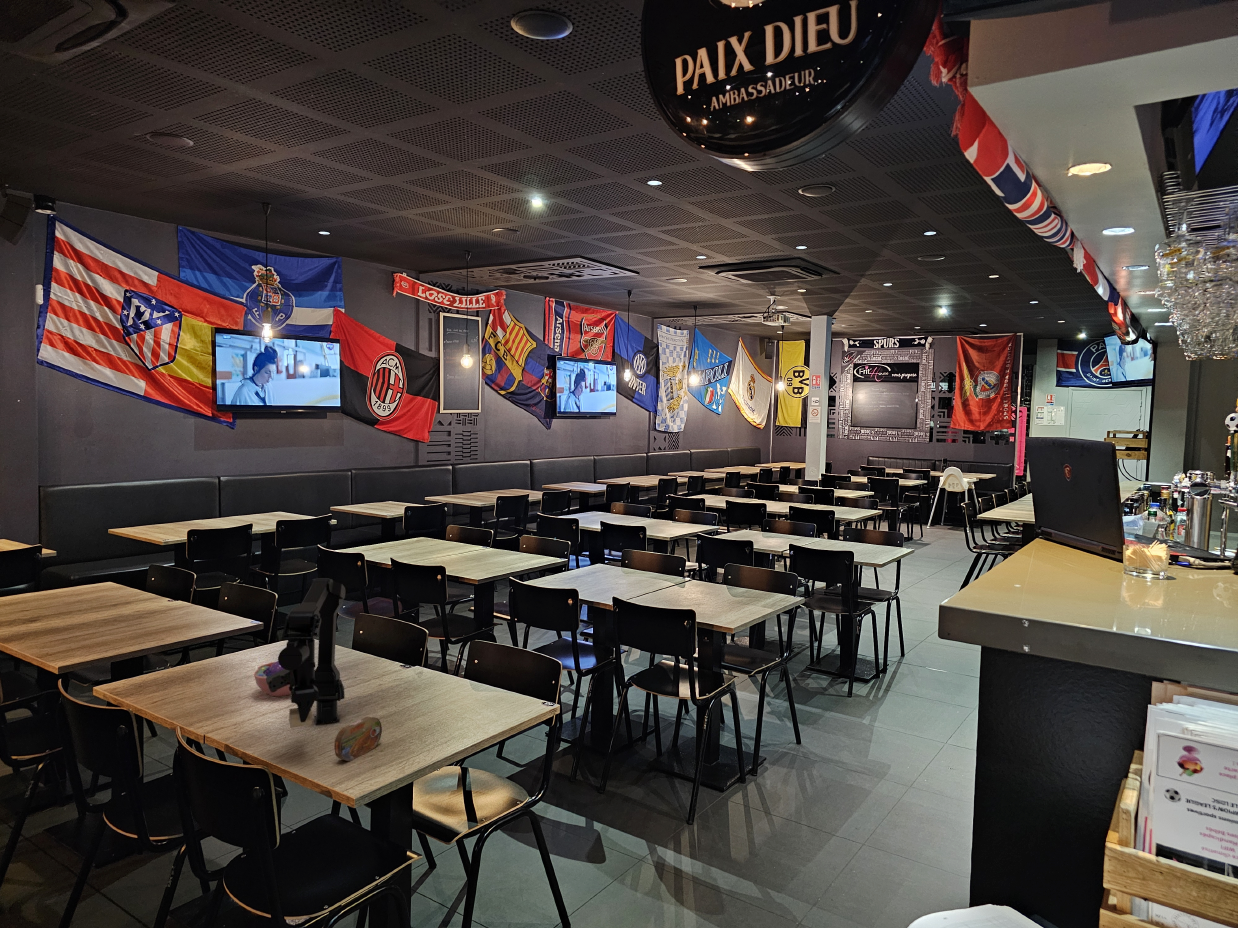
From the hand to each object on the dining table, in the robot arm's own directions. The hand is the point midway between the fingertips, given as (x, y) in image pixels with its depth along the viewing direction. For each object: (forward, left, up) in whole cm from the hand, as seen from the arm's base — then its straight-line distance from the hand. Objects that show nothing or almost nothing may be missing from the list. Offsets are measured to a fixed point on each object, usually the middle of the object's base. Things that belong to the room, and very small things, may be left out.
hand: (302, 718), depth 191 cm
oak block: (0, 0, -1) cm, 1 cm away
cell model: (-52, -2, -10) cm, 53 cm away
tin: (+6, +13, -10) cm, 17 cm away
